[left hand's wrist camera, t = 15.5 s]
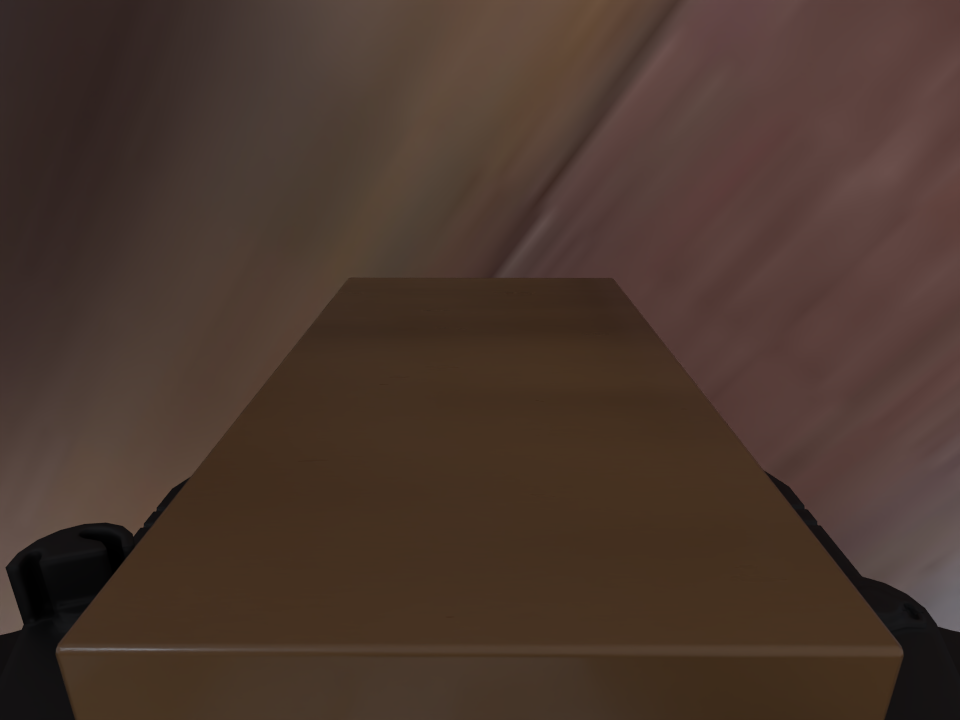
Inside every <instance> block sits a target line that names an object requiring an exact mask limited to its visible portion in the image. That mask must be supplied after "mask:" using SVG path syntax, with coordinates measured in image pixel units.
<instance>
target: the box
mask: <svg viewBox="0 0 960 720" xmlns="http://www.w3.org/2000/svg"><path fill="white" fill-rule="evenodd" d="M903 657H904V655H903V650H902V647H901V645H900V644H899V642H898V641H897V640H896V639H895V637H894V636H893V635H892V634H891V632H890V631H889V630H888V628H887V627H886V626H885V625H884V623H883V622H882V621H881V619H880V618H879V617H878V616H877V614H876V613H875V612H874V611H873V609H872V608H871V607H870V605H869V604H868V603H867V602H866V600H865V599H864V598H863V597H862V595H861V594H860V593H859V591H858V590H857V589H856V588H855V586H854V585H853V584H852V583H851V581H850V580H849V579H848V577H847V576H846V575H845V574H844V572H843V571H842V570H841V569H840V567H839V566H838V565H837V563H836V562H835V561H834V560H833V558H832V557H831V556H830V554H829V553H828V552H827V551H826V549H825V548H824V547H823V546H822V544H821V543H820V542H819V540H818V539H817V538H816V537H815V535H814V534H813V533H812V532H811V530H810V529H809V528H808V526H807V525H806V524H805V523H804V521H803V520H802V519H801V518H800V516H799V515H798V514H797V512H796V511H795V510H794V509H793V507H792V506H791V505H790V504H789V502H788V501H787V500H786V498H785V497H784V496H783V495H782V493H781V492H780V491H779V489H778V488H777V487H776V486H775V484H774V483H773V482H772V481H771V479H770V478H769V477H768V475H767V474H766V473H765V472H764V470H763V469H762V468H761V467H760V465H759V464H758V463H757V461H756V460H755V459H754V458H753V456H752V455H751V454H750V453H749V451H748V450H747V449H746V447H745V446H744V445H743V444H742V442H741V441H740V440H739V438H738V437H737V436H736V435H735V433H734V432H733V431H732V430H731V428H730V427H729V426H728V424H727V423H726V422H725V421H724V419H723V418H722V417H721V416H720V414H719V413H718V412H717V410H716V409H715V408H714V407H713V405H712V404H711V403H710V402H709V400H708V399H707V398H706V396H705V395H704V394H703V393H702V391H701V390H700V389H699V388H698V386H697V385H696V384H695V382H694V381H693V380H692V379H691V377H690V376H689V375H688V373H687V372H686V371H685V370H684V368H683V367H682V366H681V365H680V363H679V362H678V361H677V359H676V358H675V357H674V356H673V354H672V353H671V352H670V351H669V349H668V348H667V347H666V345H665V344H664V343H663V342H662V340H661V339H660V338H659V337H658V335H657V334H656V333H655V331H654V330H653V329H652V328H651V326H650V325H649V324H648V323H647V321H646V320H645V319H644V317H643V316H642V315H641V314H640V312H639V311H638V310H637V308H636V307H635V306H634V305H633V303H632V302H631V301H630V300H629V298H628V297H627V296H626V294H625V293H624V292H623V291H622V289H621V288H620V287H619V286H618V284H617V283H616V282H615V280H614V279H612V278H349V279H348V280H347V281H346V282H345V284H344V285H343V286H342V287H341V289H340V290H339V291H338V292H337V294H336V295H335V296H334V297H333V299H332V300H331V301H330V302H329V304H328V305H327V306H326V307H325V309H324V310H323V311H322V313H321V314H320V315H319V316H318V318H317V319H316V320H315V321H314V323H313V324H312V325H311V326H310V328H309V329H308V330H307V331H306V333H305V334H304V335H303V336H302V338H301V339H300V340H299V341H298V343H297V344H296V345H295V346H294V348H293V349H292V350H291V352H290V353H289V354H288V355H287V357H286V358H285V359H284V360H283V362H282V363H281V364H280V365H279V367H278V368H277V369H276V370H275V372H274V373H273V374H272V375H271V377H270V378H269V379H268V380H267V382H266V383H265V384H264V386H263V387H262V388H261V389H260V391H259V392H258V393H257V394H256V396H255V397H254V398H253V399H252V401H251V402H250V403H249V404H248V406H247V407H246V408H245V409H244V411H243V412H242V413H241V414H240V416H239V417H238V418H237V419H236V421H235V422H234V423H233V425H232V426H231V427H230V428H229V430H228V431H227V432H226V433H225V435H224V436H223V437H222V438H221V440H220V441H219V442H218V443H217V445H216V446H215V447H214V448H213V450H212V451H211V452H210V453H209V455H208V456H207V457H206V458H205V460H204V461H203V462H202V464H201V465H200V466H199V467H198V469H197V470H196V471H195V472H194V474H193V475H192V476H191V477H190V479H189V480H188V481H187V482H186V484H185V485H184V486H183V487H182V489H181V490H180V491H179V492H178V494H177V495H176V496H175V498H174V499H173V500H172V501H171V503H170V504H169V505H168V506H167V508H166V509H165V510H164V511H163V513H162V514H161V515H160V516H159V518H158V519H157V520H156V521H155V523H154V524H153V525H152V526H151V528H150V529H149V530H148V531H147V533H146V534H145V535H144V537H143V538H142V539H141V540H140V542H139V543H138V544H137V545H136V547H135V548H134V549H133V550H132V552H131V553H130V554H129V555H128V557H127V558H126V559H125V560H124V562H123V563H122V564H121V565H120V567H119V568H118V569H117V570H116V572H115V573H114V574H113V576H112V577H111V578H110V579H109V581H108V582H107V583H106V584H105V586H104V587H103V588H102V589H101V591H100V592H99V593H98V594H97V596H96V597H95V598H94V599H93V601H92V602H91V603H90V604H89V606H88V607H87V608H86V610H85V611H84V612H83V613H82V615H81V616H80V617H79V618H78V620H77V621H76V622H75V623H74V625H73V626H72V627H71V628H70V630H69V631H68V632H67V633H66V635H65V636H64V637H63V638H62V640H61V641H60V642H59V643H58V646H57V648H56V658H57V661H58V665H59V668H60V671H61V675H62V678H63V681H64V684H65V688H66V691H67V694H68V698H69V701H70V704H71V708H72V711H73V714H74V718H75V720H885V717H886V714H887V710H888V707H889V704H890V700H891V697H892V694H893V690H894V687H895V684H896V680H897V677H898V674H899V671H900V667H901V664H902V661H903Z"/></svg>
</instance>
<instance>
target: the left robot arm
mask: <svg viewBox="0 0 960 720" xmlns="http://www.w3.org/2000/svg"><path fill="white" fill-rule="evenodd" d="M764 472H765V471H764ZM765 473H766V474H767V475H768V477H769V478H770V479H771V481H772V482H773V483H774V484H775V486H776V487H777V488H778V489H779V491H780V492H781V493H782V495H783V496H784V497H785V498H786V500H787V501H788V502H789V504H790V505H791V506H792V507H793V509H794V510H795V511H796V512H797V514H798V515H799V516H800V518H801V519H802V520H803V521H804V523H805V524H806V525H807V526H808V528H809V529H810V530H811V532H812V533H813V534H814V535H815V537H816V538H817V539H818V540H819V542H820V543H821V544H822V546H823V547H824V548H825V549H826V551H827V552H828V553H829V554H830V556H831V557H832V558H833V560H834V561H835V562H836V563H837V565H838V566H839V567H840V569H841V570H842V571H843V572H844V574H845V575H846V576H847V577H848V579H849V580H850V581H851V583H852V584H853V585H854V586H855V588H856V589H857V590H858V591H859V593H860V594H861V595H862V597H863V598H864V599H865V600H866V602H867V603H868V604H869V605H870V607H871V608H872V609H873V611H874V612H875V613H876V614H877V616H878V617H879V618H880V619H881V621H882V622H883V623H884V625H885V626H886V627H887V628H888V630H889V631H890V632H891V634H892V635H893V636H894V637H895V639H896V640H897V641H898V642H899V644H900V645H901V647H902V650H903V655H904V657H903V661H902V664H901V667H900V671H899V674H898V677H897V680H896V684H895V687H894V690H893V694H892V697H891V700H890V704H889V707H888V710H887V714H886V717H885V720H960V632H956V631H952V630H948V629H944V628H941V627H937V624H936V623H935V621H934V620H933V619H932V617H931V616H930V614H929V613H928V612H927V610H926V609H925V608H924V607H923V606H921V605H920V604H919V603H918V602H916V601H915V600H914V599H912V598H911V597H910V596H909V595H907V594H906V593H904V592H902V591H900V590H898V589H896V588H893V587H891V586H889V585H887V584H885V583H882V582H879V581H875V580H872V579H868V578H865V577H862V576H861V575H860V574H859V572H858V571H857V570H856V569H855V567H854V566H853V565H852V564H851V563H850V561H849V560H848V559H847V558H846V556H845V555H844V554H843V553H842V551H841V550H840V549H839V548H838V547H837V545H836V544H835V543H834V542H833V540H832V539H831V538H830V537H829V535H828V534H827V533H826V532H825V530H824V529H823V528H822V527H821V526H818V525H817V521H816V519H815V518H814V517H813V516H812V514H811V513H810V512H809V511H808V510H807V509H804V505H803V503H802V502H801V501H800V500H799V498H798V497H797V496H796V495H795V494H794V492H793V491H792V490H791V489H790V487H789V486H787V485H786V484H784V483H782V482H781V481H779V480H778V479H776V478H775V477H773V476H772V475H770V474H768V473H767V472H765ZM189 479H190V478H188V479H186V480H185V481H183V482H182V483H180V484H179V485H177V486H176V487H174V488H173V489H172V490H171V491H170V492H169V493H168V495H167V496H166V497H165V498H164V499H163V501H162V502H161V503H160V504H159V506H158V507H157V511H156V512H153V513H152V514H151V516H150V517H149V518H148V519H147V521H146V522H145V523H144V528H140V529H139V530H138V532H137V533H136V534H135V535H134V537H133V534H132V533H131V532H129V531H128V530H127V529H126V528H124V527H123V526H120V525H115V524H110V523H94V524H83V525H79V526H75V527H71V528H67V529H63V530H60V531H57V532H55V533H53V534H50V535H48V536H46V537H44V538H41V539H39V540H37V541H35V542H34V543H32V544H31V545H29V546H28V547H26V548H25V549H23V550H22V551H21V552H19V553H18V554H17V555H16V556H15V557H14V558H13V560H12V561H11V562H10V563H9V564H8V565H7V567H6V570H7V574H8V577H9V580H10V583H11V586H12V589H13V592H14V595H15V598H16V601H17V605H18V608H19V611H20V614H21V617H22V620H23V623H24V626H23V628H22V630H19V631H16V632H12V633H8V634H4V635H0V720H75V718H74V714H73V711H72V708H71V704H70V701H69V698H68V694H67V691H66V688H65V684H64V681H63V678H62V675H61V671H60V668H59V665H58V661H57V658H56V648H57V646H58V643H59V642H60V641H61V640H62V638H63V637H64V636H65V635H66V633H67V632H68V631H69V630H70V628H71V627H72V626H73V625H74V623H75V622H76V621H77V620H78V618H79V617H80V616H81V615H82V613H83V612H84V611H85V610H86V608H87V607H88V606H89V604H90V603H91V602H92V601H93V599H94V598H95V597H96V596H97V594H98V593H99V592H100V591H101V589H102V588H103V587H104V586H105V584H106V583H107V582H108V581H109V579H110V578H111V577H112V576H113V574H114V573H115V572H116V570H117V569H118V568H119V567H120V565H121V564H122V563H123V562H124V560H125V559H126V558H127V557H128V555H129V554H130V553H131V552H132V550H133V549H134V548H135V547H136V545H137V544H138V543H139V542H140V540H141V539H142V538H143V537H144V535H145V534H146V533H147V531H148V530H149V529H150V528H151V526H152V525H153V524H154V523H155V521H156V520H157V519H158V518H159V516H160V515H161V514H162V513H163V511H164V510H165V509H166V508H167V506H168V505H169V504H170V503H171V501H172V500H173V499H174V498H175V496H176V495H177V494H178V492H179V491H180V490H181V489H182V487H183V486H184V485H185V484H186V482H187V481H188V480H189Z"/></svg>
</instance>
